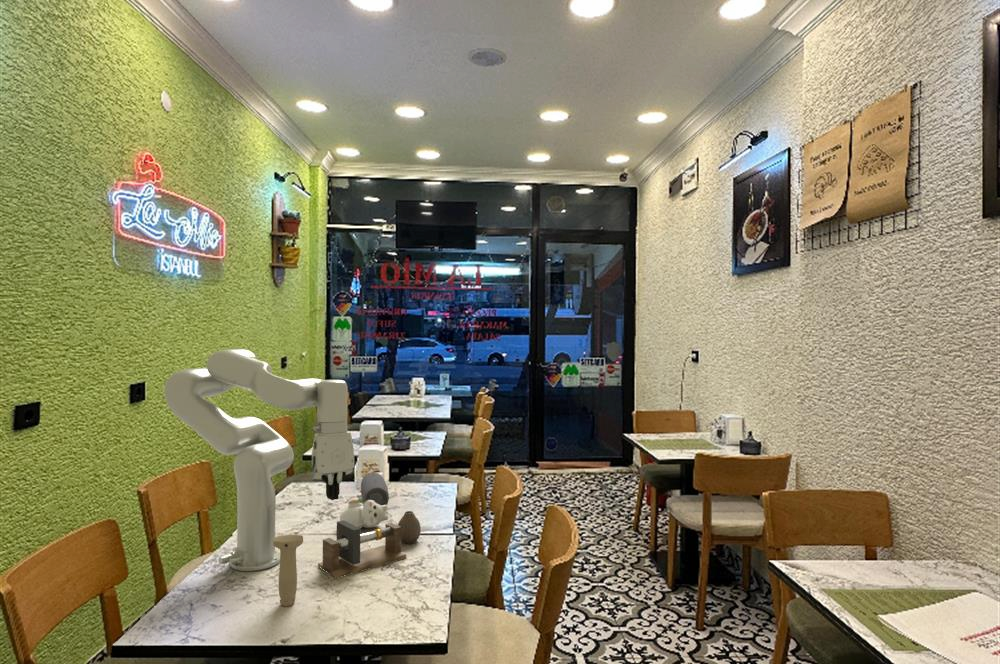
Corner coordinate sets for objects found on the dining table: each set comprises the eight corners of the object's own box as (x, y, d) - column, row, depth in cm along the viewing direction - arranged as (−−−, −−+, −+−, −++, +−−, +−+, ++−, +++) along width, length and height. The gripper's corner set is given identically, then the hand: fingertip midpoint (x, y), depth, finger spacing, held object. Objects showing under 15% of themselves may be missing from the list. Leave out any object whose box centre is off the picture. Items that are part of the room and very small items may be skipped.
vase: (415, 546, 176) (416, 516, 175) (393, 544, 177) (393, 514, 177) (423, 538, 182) (423, 509, 182) (401, 536, 184) (402, 508, 184)
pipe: (335, 553, 156) (335, 541, 156) (329, 550, 158) (329, 539, 158) (394, 537, 168) (394, 527, 168) (388, 534, 170) (389, 524, 170)
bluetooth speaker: (359, 498, 225) (359, 471, 225) (384, 496, 228) (385, 469, 228) (362, 516, 203) (362, 486, 203) (390, 514, 206) (390, 485, 206)
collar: (353, 564, 156) (353, 530, 156) (336, 555, 163) (336, 521, 163) (360, 562, 158) (360, 528, 158) (343, 553, 164) (343, 520, 164)
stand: (336, 578, 152) (336, 547, 152) (318, 566, 160) (318, 536, 160) (406, 557, 167) (406, 529, 167) (386, 548, 174) (386, 520, 174)
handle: (275, 600, 140) (275, 535, 140) (304, 598, 141) (304, 534, 141) (270, 609, 135) (271, 542, 135) (300, 608, 136) (301, 541, 136)
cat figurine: (337, 499, 190) (385, 492, 192) (341, 506, 197) (387, 499, 199) (338, 530, 185) (387, 523, 187) (342, 536, 192) (390, 529, 194)
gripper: (311, 432, 149) (312, 507, 149) (365, 426, 159) (365, 496, 159) (298, 429, 154) (298, 501, 154) (351, 423, 164) (351, 490, 164)
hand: (332, 498), depth 157 cm, fingers closed
